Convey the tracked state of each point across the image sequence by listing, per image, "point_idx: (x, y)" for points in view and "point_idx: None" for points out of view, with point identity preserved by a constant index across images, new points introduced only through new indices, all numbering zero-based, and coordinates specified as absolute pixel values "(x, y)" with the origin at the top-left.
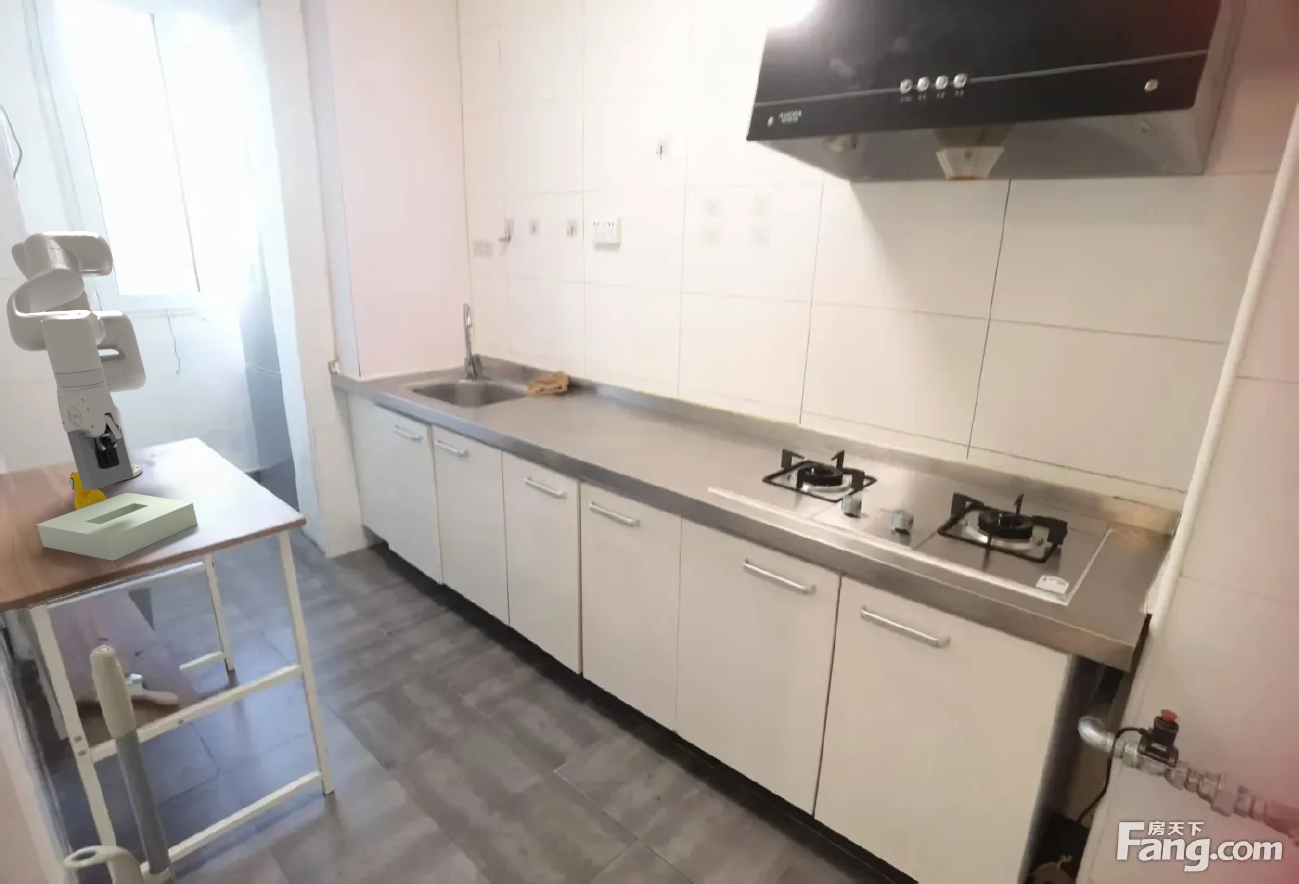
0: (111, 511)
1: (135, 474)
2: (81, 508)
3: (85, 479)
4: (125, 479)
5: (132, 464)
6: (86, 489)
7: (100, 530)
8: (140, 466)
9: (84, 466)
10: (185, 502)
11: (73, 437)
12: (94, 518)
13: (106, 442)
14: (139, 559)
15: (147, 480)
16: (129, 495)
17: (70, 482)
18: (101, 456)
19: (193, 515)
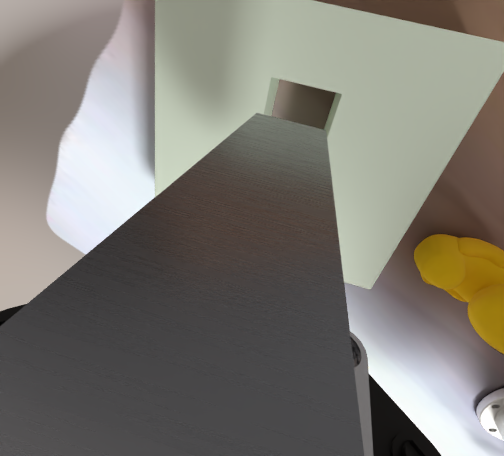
0: None
1: (480, 406)
2: (479, 244)
3: (284, 131)
4: (491, 393)
5: (501, 436)
6: (485, 292)
7: (229, 27)
8: (488, 432)
9: (245, 147)
10: None
11: (168, 359)
12: (331, 124)
13: (12, 311)
14: (136, 10)
15: (439, 384)
16: (347, 271)
17: None
18: None
19: None
